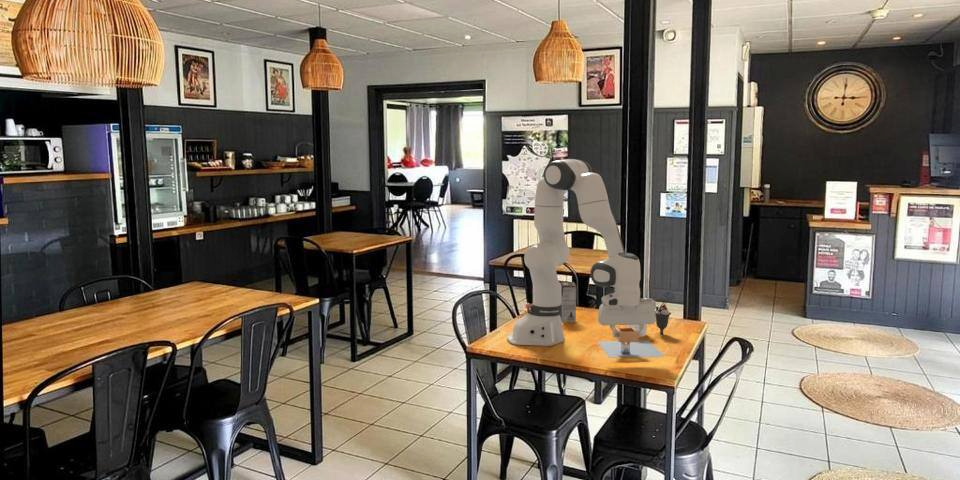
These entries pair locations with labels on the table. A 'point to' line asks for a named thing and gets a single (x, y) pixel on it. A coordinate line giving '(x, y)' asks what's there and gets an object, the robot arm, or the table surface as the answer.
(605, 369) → the table surface
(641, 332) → the white cup
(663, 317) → the sundae
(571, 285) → the coffee box
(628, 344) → the piston
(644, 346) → the plate
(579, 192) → the robot arm
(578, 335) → the table surface
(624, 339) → the collar
